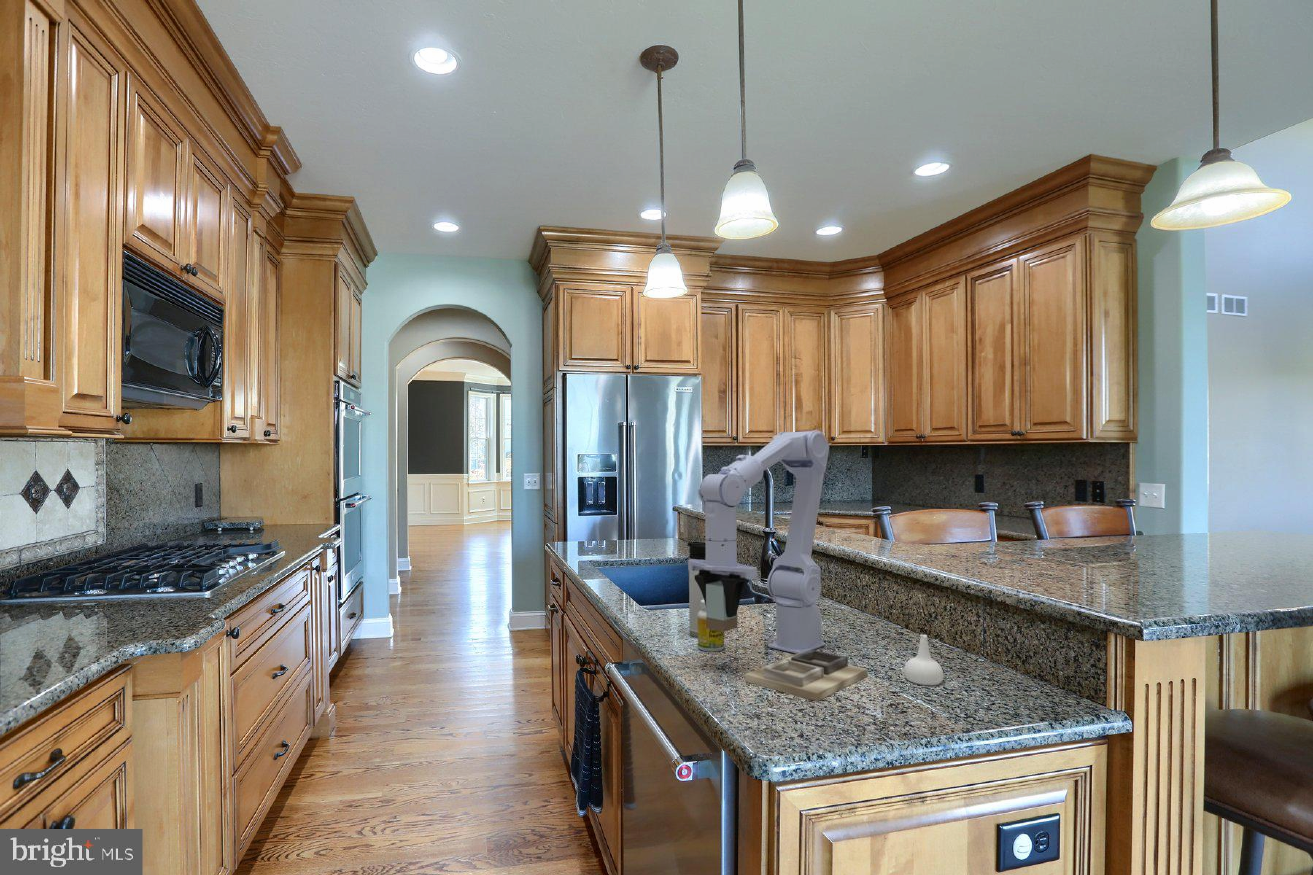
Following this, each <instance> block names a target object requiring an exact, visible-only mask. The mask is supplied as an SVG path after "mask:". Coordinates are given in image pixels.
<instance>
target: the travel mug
mask: <svg viewBox="0 0 1313 875" xmlns="http://www.w3.org/2000/svg"><path fill="white" fill-rule="evenodd" d="M687 547H689V549H688V550H689V552H688V553H689V555H688V560H694V559H697V560H706V543H697V542H690V541H689V542H688V541H687ZM698 573H699V571H689V570H688V588H689V590H688V592H689V594H688V595H689V597H688V598H689V599H688V600H689V601H688V603H689V604H688V609H689V610H688V611H689V621H688V622H689V623H688V624H689V626H688V627H689V636H691V637H693V638H697V639H698V612H699V611H700V610H702V608H701V600H703V599H704V598H703V595H702V592H701V590H700V588H699V586H698V584H697V582H696V581H695V575H698Z"/></svg>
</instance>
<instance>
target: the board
mask: <svg viewBox="0 0 1313 875" xmlns="http://www.w3.org/2000/svg"><path fill="white" fill-rule="evenodd" d="M868 671H869V670H868V668H865V667H860V666H856V665H851V664H849V658H848V657H847V656H843V655H840V654H835V653H830V652H825V651H821V650H816V649H814V650H810V651H807V652H805V653H802V654H800V653H798V654H796V653H794V654H793V655H790V656H788V657H786V658H783V659H779V660H777V661H775V662H773V663H771V664H770V663H769V664H767V665H765V666H762V667H760V668H757V669H754V670H751V671H749V672H747V673H744V681H745V682H746V683H750V684H754V685H758V686H761V687H765V688H768V689H772V690H775V691H780V692H782V693H787V694H790V695H793V696H797V697H800V698H805V699H808V700H811V701H816V702H818V701H821V700H823V699H825V698H827V697H829V696H831V695H833V694H835V693H837V692H839V691H840V690H842V689H845V688H846V687H849V686H851V685H853V684H854V683H857V682H859V681H860V680H862V679H864V678H866V677H868V676H869V675H868V674H869V672H868Z"/></svg>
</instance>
